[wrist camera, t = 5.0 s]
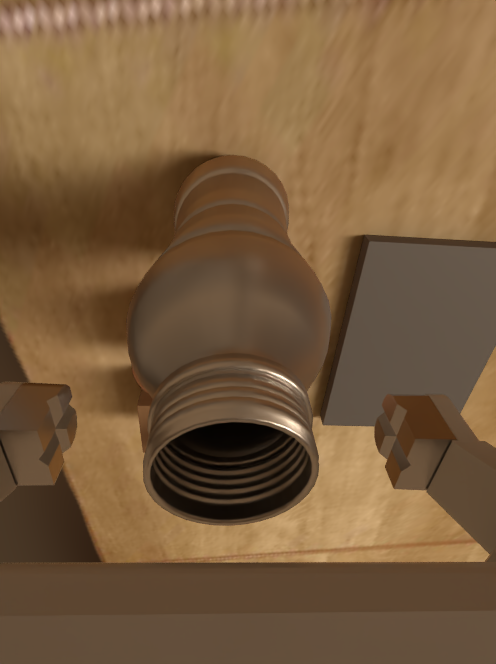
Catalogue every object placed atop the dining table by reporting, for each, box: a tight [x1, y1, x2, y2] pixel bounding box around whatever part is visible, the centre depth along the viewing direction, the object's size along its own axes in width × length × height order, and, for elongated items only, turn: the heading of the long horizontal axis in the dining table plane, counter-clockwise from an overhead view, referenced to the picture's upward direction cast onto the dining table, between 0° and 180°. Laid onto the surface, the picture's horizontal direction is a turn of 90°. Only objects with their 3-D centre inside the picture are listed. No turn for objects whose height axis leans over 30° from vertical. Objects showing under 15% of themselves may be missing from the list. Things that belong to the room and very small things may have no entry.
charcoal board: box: [320, 235, 496, 426], centre depth 31 cm, size 17×12×1 cm
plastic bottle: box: [126, 155, 331, 525], centre depth 16 cm, size 6×7×20 cm
